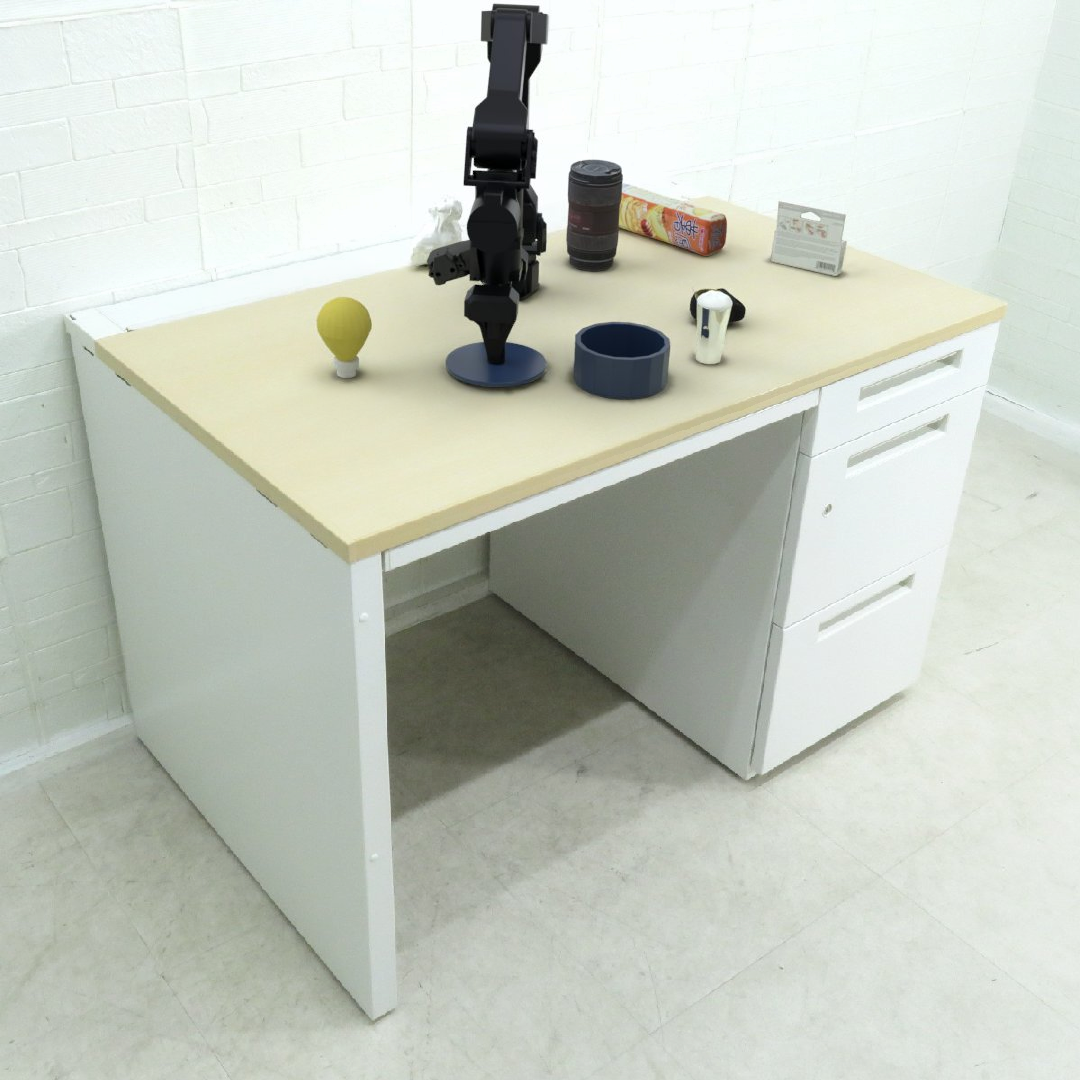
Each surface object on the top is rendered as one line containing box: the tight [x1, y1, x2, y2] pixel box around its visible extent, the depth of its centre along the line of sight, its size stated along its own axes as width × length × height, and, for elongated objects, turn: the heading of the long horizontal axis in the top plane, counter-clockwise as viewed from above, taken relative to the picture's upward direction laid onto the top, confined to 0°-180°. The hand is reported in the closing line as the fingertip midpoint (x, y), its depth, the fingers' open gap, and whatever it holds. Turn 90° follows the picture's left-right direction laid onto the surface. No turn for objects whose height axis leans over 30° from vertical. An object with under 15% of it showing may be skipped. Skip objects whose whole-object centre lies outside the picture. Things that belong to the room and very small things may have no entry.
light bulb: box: [316, 296, 373, 379], centre depth 160 cm, size 7×7×10 cm
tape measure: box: [689, 287, 747, 325], centre depth 180 cm, size 7×7×4 cm
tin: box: [572, 321, 671, 400], centre depth 162 cm, size 12×12×5 cm
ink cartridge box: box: [770, 200, 848, 277], centre depth 198 cm, size 2×11×10 cm, turn 58°
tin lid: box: [445, 341, 547, 388], centre depth 163 cm, size 13×13×6 cm
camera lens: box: [565, 159, 624, 272], centre depth 195 cm, size 8×8×15 cm
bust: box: [409, 194, 463, 267], centre depth 195 cm, size 12×8×11 cm
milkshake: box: [691, 286, 732, 365], centre depth 167 cm, size 4×5×10 cm
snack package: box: [619, 182, 728, 257], centre depth 208 cm, size 21×7×7 cm, turn 47°
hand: (496, 345), depth 163 cm, fingers open, 9 cm apart
